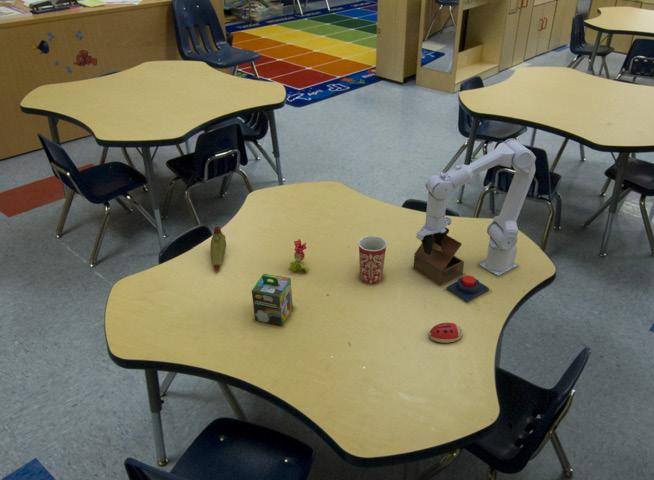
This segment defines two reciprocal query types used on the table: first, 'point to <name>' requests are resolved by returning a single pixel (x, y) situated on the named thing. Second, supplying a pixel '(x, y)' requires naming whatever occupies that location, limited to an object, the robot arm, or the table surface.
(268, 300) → the chalk box
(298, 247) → the bird rattle
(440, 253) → the box lid
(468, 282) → the buzzer button
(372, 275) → the mug
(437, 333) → the watermelon slice
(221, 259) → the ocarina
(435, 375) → the table surface
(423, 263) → the brown box
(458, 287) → the button block
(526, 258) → the table surface
